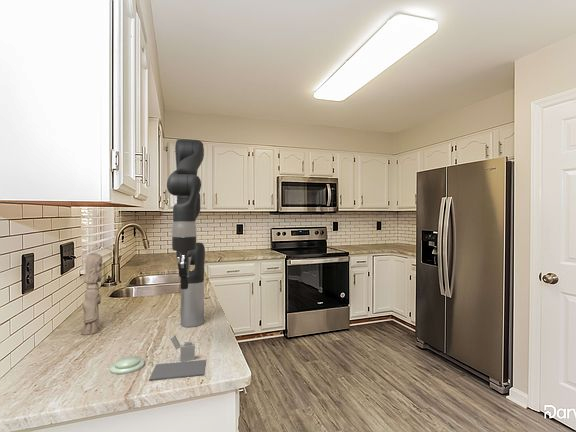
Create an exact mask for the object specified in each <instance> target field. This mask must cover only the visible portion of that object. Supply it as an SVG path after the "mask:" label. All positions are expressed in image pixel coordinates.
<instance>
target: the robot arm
mask: <svg viewBox="0 0 576 432" xmlns="http://www.w3.org/2000/svg"><path fill="white" fill-rule="evenodd" d="M174 150H175V151H174V154H175V165H176V166H175V167H176V169H175V170H174V171H173V172H172V173H170V174H169V176H168V178H167V181H166V189H167V192H168V193H169V194H170V195H172V196H174V197H175V196H176V203H175V204H174V205H173V207H172V228H171V232H172V233H171V242H172V243H171V245H172V247H171V249H172V251H176V253H175V254H176V255H175V256H176V262H177V267H178V268H177V269H178V276H179V278H180V326H182V327H186V328H192V327H193V328H194V327H199V326H201V325H203V324H204V323H205V258H206V248H205V245H204V243H203V242H197V224H196V219H198V217H199V215H200V213H201V193H200V192H201V188H202V180H201V178H200V177H199V175H198V170H199V168H200V166H201V164H202V163H203V160H204V156H205V149H204V144H203V142H202V141H201V140H199V139H184V138H183V139H182V138H181V139H177V140H176V142H175V147H174ZM191 266H194V268H193V269H192V270H191V271H190V269H191Z"/></svg>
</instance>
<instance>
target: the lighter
mask: <svg viewBox="0 0 576 432" xmlns="http://www.w3.org/2000/svg"><path fill="white" fill-rule="evenodd" d="M169 339H170V341H171V343H172V344H173V347H174V348H175V350H178V349H180V350H179V351H180V356H179V357H180V361H179V362H186V361H196V360H195V359H196V358H195V357H196V355H195V354H196V347H195V346H196V345H195V343H193V342H192V341H185V342H184V343H183V344H182V345H181V343H180V341H179V340H178V338H177V336H176V334H174V333H173V334H172V335H169Z"/></svg>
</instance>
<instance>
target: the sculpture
mask: <svg viewBox="0 0 576 432" xmlns="http://www.w3.org/2000/svg"><path fill="white" fill-rule="evenodd" d="M84 263H85V265H84V266H85V271H84V272H85V273H84V278H83V282H84V283H85V284H86V289H85V291H84V292H85V293H84V300H83V302H82V309H83V328H82V329H81V331H80V334H81V335H83V336H89V335H90V336H91V335H94V334H98V333H100V331H101V328H100V327H101V326H100V313H99V305H101V302H102V301H101V300H102V294H100V285H99V283H100V282H102V280H103V279H102V278H103V274H102V270H103V265H102V264H103V256H102V255H101V254H99V253H95V252H94V253H89V254H88V255H86V257H85V261H84Z"/></svg>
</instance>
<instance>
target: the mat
mask: <svg viewBox="0 0 576 432" xmlns="http://www.w3.org/2000/svg"><path fill="white" fill-rule="evenodd" d="M205 368H206V359H198V360H190V361H182V362H180V361H177V362H167V363H155V365H154V368H153V370H152V372H151V374H150V377H149V378H148V381H149V382H151V381H152V382H153V381H161V380H171V379H172V380H173V379H181V378H192V377H200V376H201V377H202V376H205Z"/></svg>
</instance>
